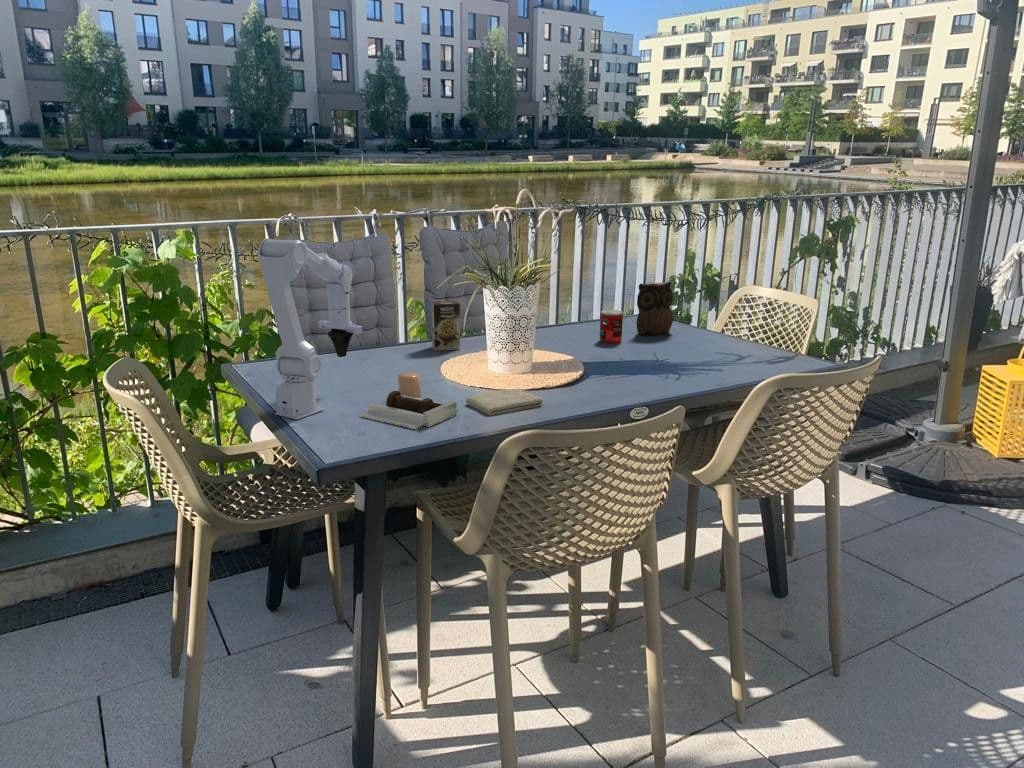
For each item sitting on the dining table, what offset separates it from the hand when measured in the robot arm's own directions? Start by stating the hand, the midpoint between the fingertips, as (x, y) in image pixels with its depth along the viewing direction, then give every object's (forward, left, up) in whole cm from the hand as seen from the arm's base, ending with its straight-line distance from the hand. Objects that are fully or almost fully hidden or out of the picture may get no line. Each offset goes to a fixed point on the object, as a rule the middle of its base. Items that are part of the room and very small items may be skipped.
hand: (341, 356), depth 209 cm
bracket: (-6, -29, -10) cm, 31 cm away
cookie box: (+57, +7, -10) cm, 58 cm away
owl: (+121, -43, -10) cm, 129 cm away
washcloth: (+14, -45, -11) cm, 49 cm away
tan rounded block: (+6, -19, -10) cm, 22 cm away
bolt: (-5, -30, -10) cm, 32 cm away
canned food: (+99, -36, -10) cm, 106 cm away
